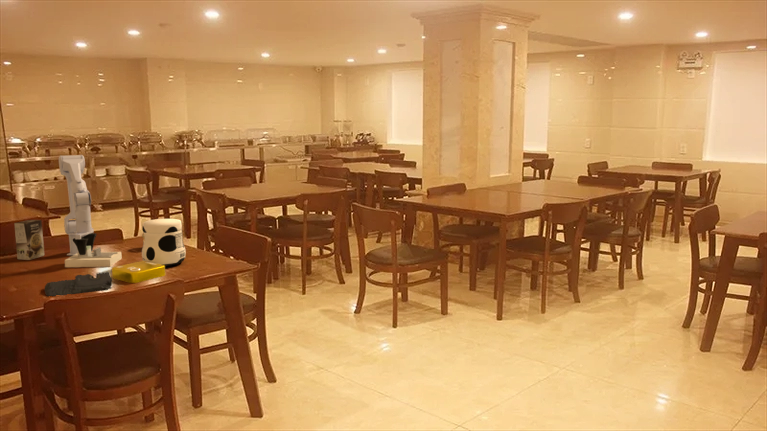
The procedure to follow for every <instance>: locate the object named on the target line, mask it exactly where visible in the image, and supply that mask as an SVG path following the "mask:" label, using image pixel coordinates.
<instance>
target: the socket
mask: <svg viewBox="0 0 767 431" xmlns="http://www.w3.org/2000/svg"><path fill="white" fill-rule="evenodd" d="M105 252H106V251H101V253H105ZM113 252H114V254H113V255H112V256H102V257H93V256H94V254H93V251H91V254H92V257H78V253H77V254H75V255H70V256H69V257H68V258H66V259H64V268H94V267H95V268H98V267H99V268H101V267H103V268H104V267H105V268H107V267H108V268H109V267H112V266H113V265H115V264H116V263H118V262H119V261H120V260H122V257H123V256H122V251H113Z"/></svg>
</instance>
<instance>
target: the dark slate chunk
mask: <svg viewBox="0 0 767 431" xmlns="http://www.w3.org/2000/svg"><path fill="white" fill-rule="evenodd" d="M112 282H113V278H112V276H111V274H110V272H108V271H106V272H98V273H95V277H94V275H91V274H89V273H87V274H84V275H83V274H77V275H75V277H74V279H65V280H58V281H49V282H47V283H45V286H44V293H45V295H46V296H47V297H48V296H52V297H57V296H56V295H61V296H68V295H67V294H71V295H76V294H77V295H79V294H87V293H94V292H103V291H108V290H110V289H112V284H113V283H112Z"/></svg>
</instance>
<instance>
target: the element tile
mask: <svg viewBox="0 0 767 431" xmlns="http://www.w3.org/2000/svg"><path fill="white" fill-rule="evenodd" d="M165 276H166V266H164V265H161V264H156V263H152V262H147V261H143V260H140V261H134V262H131V263H126V264H122V265H118V266H113V267H112V268H111V278H112V280H113V279H114V280H116V281H123V282H126V283H129V284H138V283H143V282H146V281H151V280H153V279H158V278H162V277H165Z"/></svg>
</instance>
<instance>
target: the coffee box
mask: <svg viewBox="0 0 767 431" xmlns="http://www.w3.org/2000/svg"><path fill="white" fill-rule="evenodd" d="M42 223H43V222H42V220H41V219H27V220H23V221H22V220H21V221H18V222H14V223H13V224H14V233H15V234H14V235H15V236H14V237H15V245H16V247H15V248H16V257H17V260H23V261H24V260H25V261H31V260H34V259H37V258H40V257H44V256H45V245H44V244H45V243H44V236H43V224H42Z"/></svg>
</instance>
